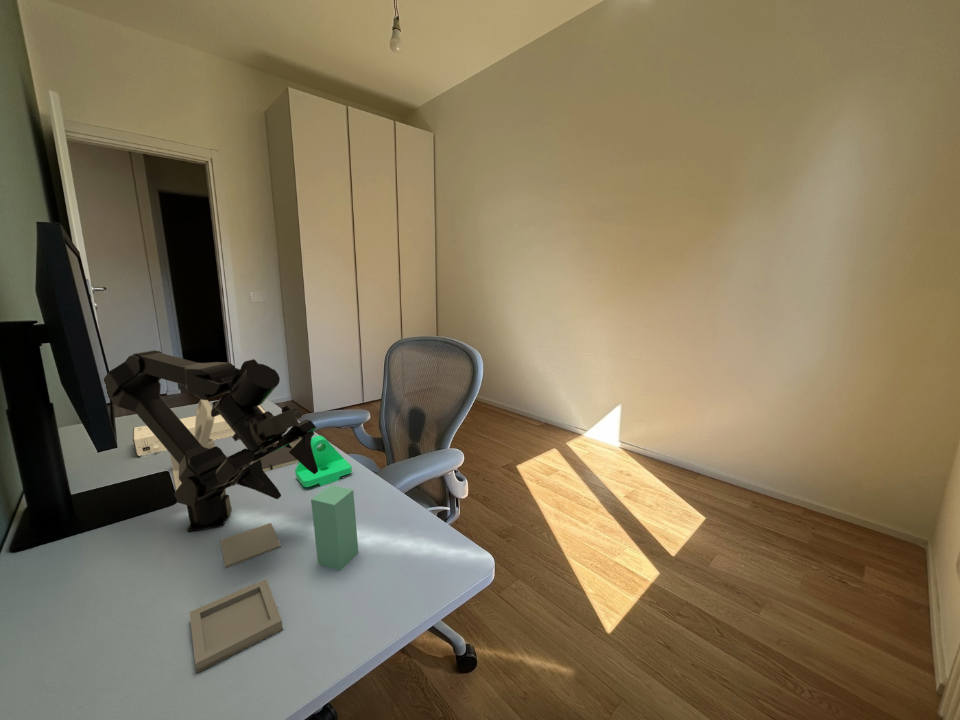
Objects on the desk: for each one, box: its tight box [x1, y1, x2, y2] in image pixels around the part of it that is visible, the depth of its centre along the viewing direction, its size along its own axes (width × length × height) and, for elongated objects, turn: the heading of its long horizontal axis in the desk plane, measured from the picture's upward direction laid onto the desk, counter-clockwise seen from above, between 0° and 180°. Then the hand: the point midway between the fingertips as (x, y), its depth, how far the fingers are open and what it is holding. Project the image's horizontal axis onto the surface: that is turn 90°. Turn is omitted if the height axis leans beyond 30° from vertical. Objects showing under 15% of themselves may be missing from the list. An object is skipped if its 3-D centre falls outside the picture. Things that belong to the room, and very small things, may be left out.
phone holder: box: [169, 399, 216, 491], centre depth 102 cm, size 17×10×18 cm, turn 40°
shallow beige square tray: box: [189, 578, 284, 674], centre depth 59 cm, size 10×10×2 cm
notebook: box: [260, 433, 299, 472], centre depth 116 cm, size 13×2×21 cm
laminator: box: [132, 405, 267, 457], centre depth 126 cm, size 34×12×6 cm, turn 130°
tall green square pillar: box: [310, 484, 359, 572], centre depth 72 cm, size 5×5×13 cm
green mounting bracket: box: [294, 435, 353, 488], centre depth 101 cm, size 12×8×10 cm, turn 129°
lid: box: [219, 522, 282, 569], centre depth 77 cm, size 9×9×1 cm
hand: (299, 484), depth 73 cm, fingers open, 9 cm apart
